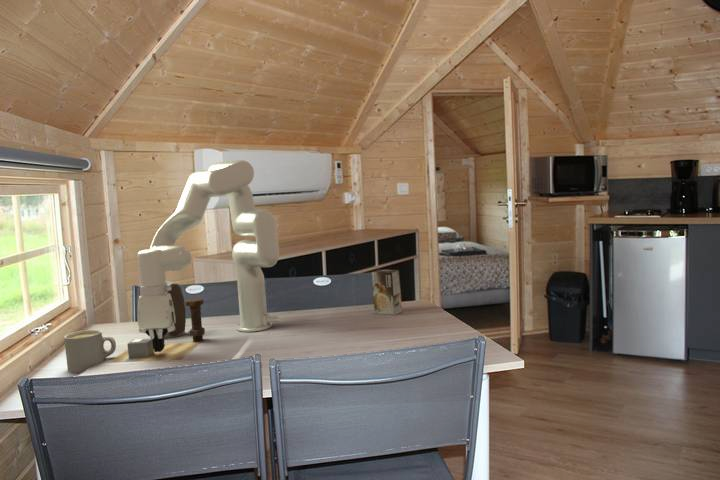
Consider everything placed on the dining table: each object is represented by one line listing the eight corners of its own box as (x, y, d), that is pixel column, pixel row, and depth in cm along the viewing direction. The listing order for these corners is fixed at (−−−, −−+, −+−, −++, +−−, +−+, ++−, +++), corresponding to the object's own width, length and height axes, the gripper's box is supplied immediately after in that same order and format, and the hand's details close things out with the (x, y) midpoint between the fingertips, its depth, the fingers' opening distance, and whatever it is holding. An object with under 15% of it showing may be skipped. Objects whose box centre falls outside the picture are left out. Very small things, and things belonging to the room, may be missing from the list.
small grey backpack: (165, 344, 193) (159, 284, 191) (143, 343, 196) (138, 284, 194) (191, 332, 208) (186, 276, 206) (170, 332, 210) (165, 277, 208)
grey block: (154, 352, 178) (152, 337, 178) (148, 357, 174) (147, 341, 173) (134, 353, 178) (133, 338, 178) (128, 358, 174) (127, 342, 173)
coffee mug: (65, 374, 167) (61, 340, 166) (70, 364, 176) (67, 332, 175) (115, 367, 170) (112, 334, 170) (118, 358, 180) (115, 326, 179)
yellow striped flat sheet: (201, 346, 188) (200, 342, 188) (182, 364, 170) (181, 359, 170) (133, 349, 189) (133, 345, 189) (107, 367, 171) (107, 362, 171)
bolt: (192, 343, 193) (188, 298, 191) (207, 342, 193) (204, 297, 192) (188, 348, 187) (184, 302, 185) (204, 347, 187) (200, 301, 186)
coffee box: (402, 311, 222) (400, 269, 220) (394, 315, 216) (392, 272, 215) (381, 310, 226) (379, 268, 225) (373, 313, 221) (371, 271, 219)
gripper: (182, 287, 178) (187, 346, 180) (134, 289, 178) (139, 348, 180) (174, 291, 170) (179, 353, 172) (123, 294, 171) (129, 355, 173)
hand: (159, 350), depth 176 cm, fingers closed
